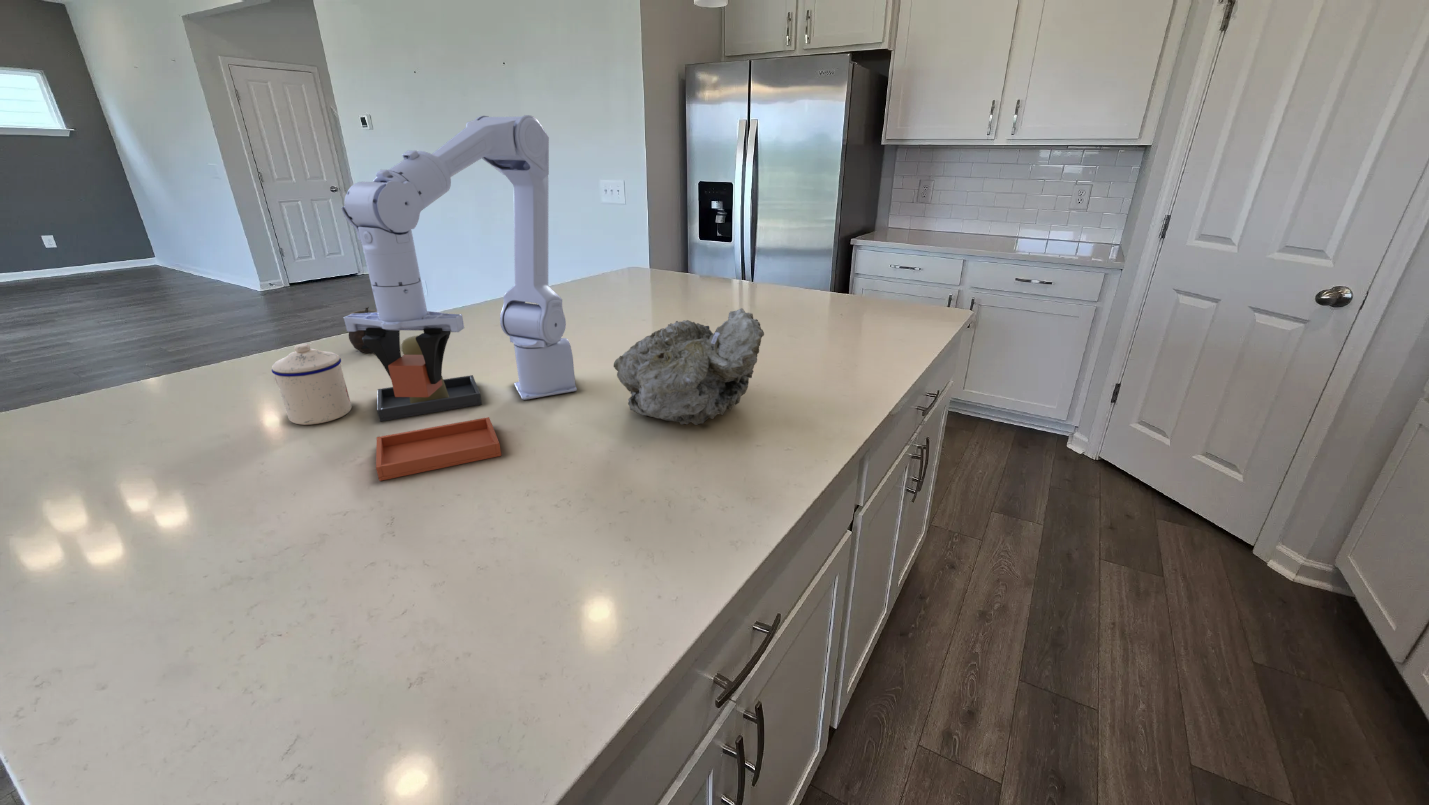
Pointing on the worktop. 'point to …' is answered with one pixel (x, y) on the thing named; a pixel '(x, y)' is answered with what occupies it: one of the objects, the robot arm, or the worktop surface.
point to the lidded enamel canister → (312, 385)
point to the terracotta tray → (435, 448)
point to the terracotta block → (411, 377)
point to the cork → (412, 348)
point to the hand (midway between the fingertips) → (417, 381)
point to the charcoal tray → (458, 389)
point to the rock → (691, 368)
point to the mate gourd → (360, 335)
